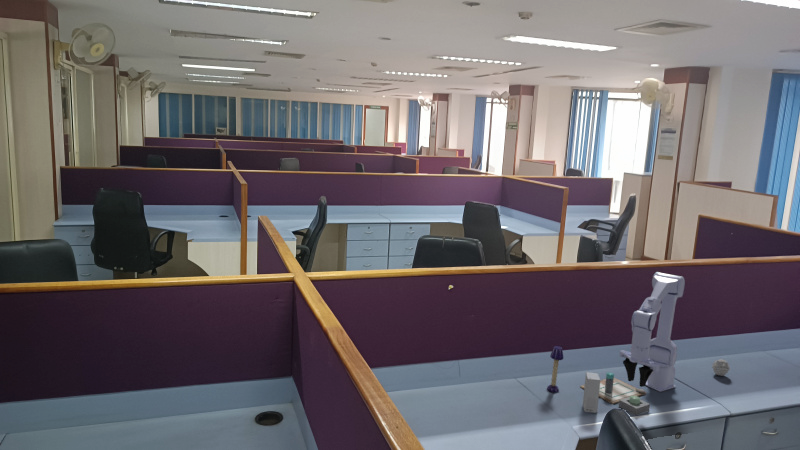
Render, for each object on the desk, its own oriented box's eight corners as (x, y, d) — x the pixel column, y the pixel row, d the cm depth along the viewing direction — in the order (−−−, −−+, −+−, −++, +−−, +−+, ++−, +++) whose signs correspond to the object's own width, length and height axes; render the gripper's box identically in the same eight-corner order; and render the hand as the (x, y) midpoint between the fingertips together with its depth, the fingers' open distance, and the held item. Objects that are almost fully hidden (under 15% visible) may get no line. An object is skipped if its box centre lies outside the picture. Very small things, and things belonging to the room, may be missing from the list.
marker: (608, 389, 210) (609, 372, 209) (614, 392, 208) (615, 374, 207) (603, 391, 209) (604, 373, 208) (608, 394, 207) (610, 376, 205)
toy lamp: (554, 386, 213) (558, 344, 210) (563, 391, 209) (567, 348, 206) (544, 388, 211) (548, 345, 208) (552, 394, 207) (556, 350, 204)
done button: (633, 402, 200) (634, 394, 199) (641, 407, 197) (642, 399, 196) (626, 404, 198) (627, 396, 197) (635, 409, 195) (635, 401, 195)
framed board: (613, 377, 222) (613, 375, 222) (646, 393, 209) (647, 391, 209) (580, 387, 213) (580, 384, 213) (613, 404, 200) (613, 401, 200)
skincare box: (597, 413, 193) (600, 380, 191) (584, 412, 194) (587, 378, 192) (595, 405, 199) (598, 373, 197) (582, 403, 200) (585, 371, 198)
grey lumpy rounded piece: (714, 378, 225) (716, 361, 224) (708, 371, 232) (710, 354, 231) (730, 380, 224) (733, 363, 223) (725, 373, 231) (727, 356, 230)
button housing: (631, 402, 202) (632, 395, 202) (649, 410, 196) (649, 404, 196) (618, 406, 199) (619, 399, 198) (635, 415, 193) (636, 408, 192)
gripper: (615, 340, 198) (611, 377, 200) (651, 355, 186) (647, 394, 188) (628, 337, 201) (624, 373, 204) (665, 351, 189) (660, 390, 191)
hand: (636, 383), depth 196 cm, fingers open, 4 cm apart
